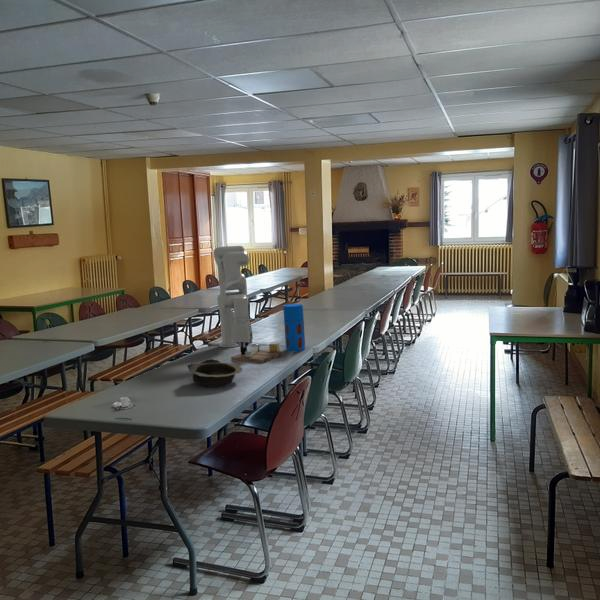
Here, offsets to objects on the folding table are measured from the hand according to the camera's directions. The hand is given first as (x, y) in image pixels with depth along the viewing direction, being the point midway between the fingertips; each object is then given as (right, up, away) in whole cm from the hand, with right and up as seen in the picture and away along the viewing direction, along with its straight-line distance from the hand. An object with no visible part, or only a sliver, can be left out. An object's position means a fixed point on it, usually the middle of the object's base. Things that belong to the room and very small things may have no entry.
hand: (244, 354), depth 311 cm
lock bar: (+4, 0, +4) cm, 6 cm away
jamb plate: (+7, -2, +3) cm, 8 cm away
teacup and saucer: (-42, -15, -69) cm, 82 cm away
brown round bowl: (-9, -9, -43) cm, 45 cm away
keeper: (+16, +1, +8) cm, 18 cm away
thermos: (+27, +1, +19) cm, 33 cm away
